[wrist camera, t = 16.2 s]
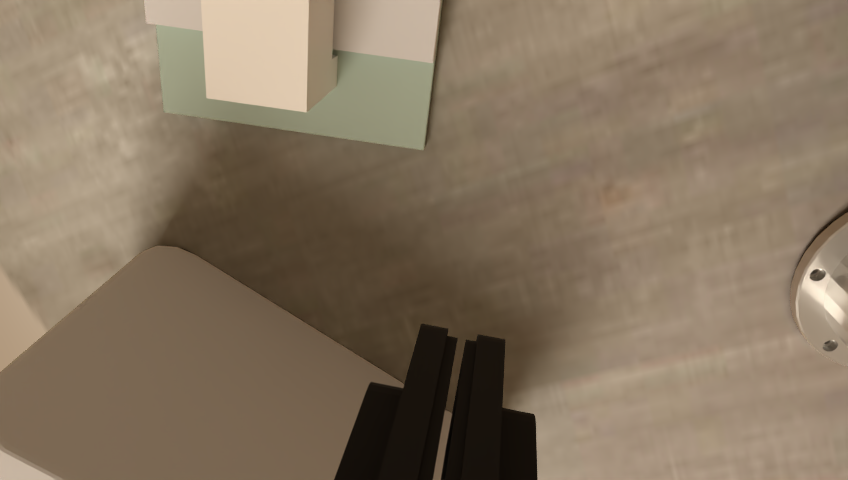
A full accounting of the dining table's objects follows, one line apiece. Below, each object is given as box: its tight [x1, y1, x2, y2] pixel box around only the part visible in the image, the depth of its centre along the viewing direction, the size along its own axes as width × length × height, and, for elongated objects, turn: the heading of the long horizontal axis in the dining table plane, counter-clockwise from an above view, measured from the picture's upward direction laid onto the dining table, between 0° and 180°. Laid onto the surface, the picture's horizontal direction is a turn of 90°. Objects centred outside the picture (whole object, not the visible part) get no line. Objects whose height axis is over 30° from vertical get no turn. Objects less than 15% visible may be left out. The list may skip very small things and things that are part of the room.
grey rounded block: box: [0, 246, 452, 480], centre depth 37 cm, size 29×8×18 cm, turn 55°
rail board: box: [144, 0, 443, 150], centre depth 32 cm, size 16×14×2 cm
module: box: [201, 0, 338, 112], centre depth 29 cm, size 5×8×6 cm, turn 174°
